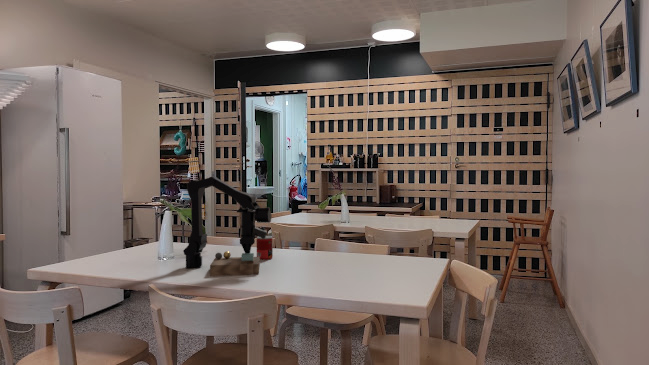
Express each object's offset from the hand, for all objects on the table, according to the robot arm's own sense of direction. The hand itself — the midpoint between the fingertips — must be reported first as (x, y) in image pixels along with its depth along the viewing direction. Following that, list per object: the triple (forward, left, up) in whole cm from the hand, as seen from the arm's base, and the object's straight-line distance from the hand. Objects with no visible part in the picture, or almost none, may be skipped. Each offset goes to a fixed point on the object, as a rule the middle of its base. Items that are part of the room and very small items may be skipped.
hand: (248, 257), depth 208 cm
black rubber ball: (-13, +1, +1) cm, 13 cm away
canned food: (+7, +25, -5) cm, 26 cm away
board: (-5, -4, -5) cm, 8 cm away
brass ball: (-9, +2, +1) cm, 10 cm away
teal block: (0, -4, 0) cm, 4 cm away
